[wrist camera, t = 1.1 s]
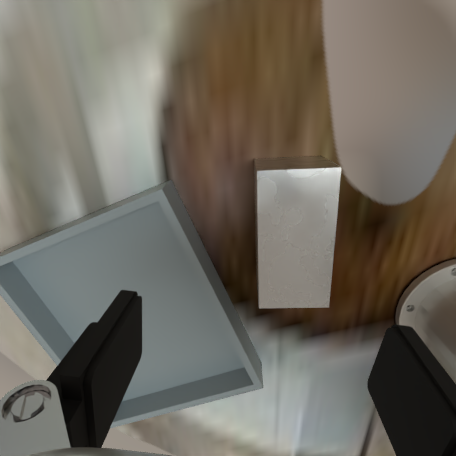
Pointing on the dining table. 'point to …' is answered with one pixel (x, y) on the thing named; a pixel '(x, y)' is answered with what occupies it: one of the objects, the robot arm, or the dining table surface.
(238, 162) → the dining table surface
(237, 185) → the dining table surface
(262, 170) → the silver metal block
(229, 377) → the tray
